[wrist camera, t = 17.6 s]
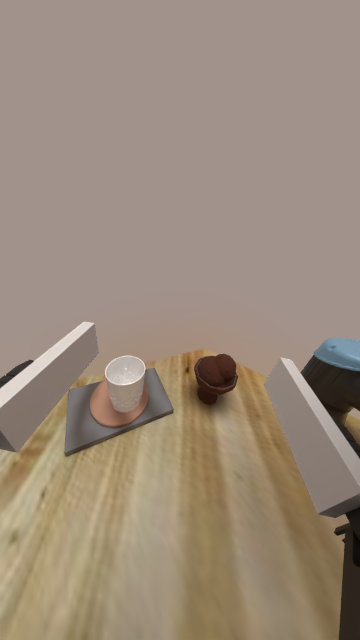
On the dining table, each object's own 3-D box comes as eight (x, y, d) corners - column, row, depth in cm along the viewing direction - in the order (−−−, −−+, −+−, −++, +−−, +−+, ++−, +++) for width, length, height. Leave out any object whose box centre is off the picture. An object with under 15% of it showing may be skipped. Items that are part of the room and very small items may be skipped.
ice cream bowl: (218, 378, 52) (232, 341, 45) (232, 413, 43) (254, 373, 35) (185, 379, 50) (195, 340, 43) (193, 416, 41) (207, 374, 33)
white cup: (110, 387, 41) (106, 357, 36) (142, 383, 43) (143, 354, 38) (106, 419, 34) (102, 387, 29) (145, 412, 37) (147, 382, 32)
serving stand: (154, 371, 51) (154, 364, 49) (172, 412, 41) (174, 405, 39) (69, 393, 41) (67, 385, 39) (66, 456, 31) (62, 448, 29)
